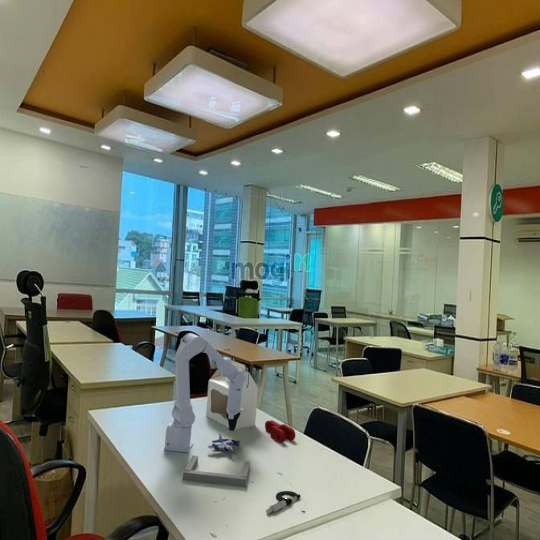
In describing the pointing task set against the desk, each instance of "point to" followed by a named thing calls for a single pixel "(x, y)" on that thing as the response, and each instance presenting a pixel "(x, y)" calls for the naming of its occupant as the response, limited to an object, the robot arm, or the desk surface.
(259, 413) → the desk surface
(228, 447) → the toy airplane
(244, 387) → the gable box
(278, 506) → the micrometer
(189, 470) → the cradle
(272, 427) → the mechanical linkage
